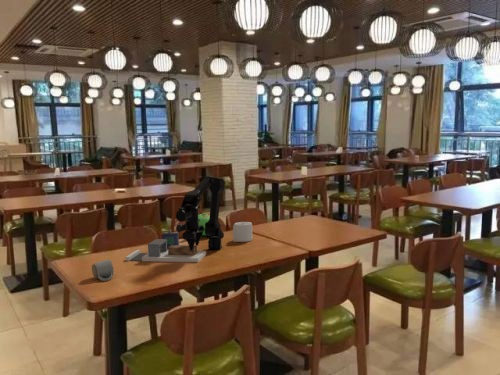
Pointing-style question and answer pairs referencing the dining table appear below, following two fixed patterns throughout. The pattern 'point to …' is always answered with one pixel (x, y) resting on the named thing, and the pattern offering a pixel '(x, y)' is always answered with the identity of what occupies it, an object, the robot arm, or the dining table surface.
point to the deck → (165, 257)
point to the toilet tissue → (242, 232)
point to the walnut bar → (181, 250)
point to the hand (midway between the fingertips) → (194, 247)
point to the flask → (171, 238)
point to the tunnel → (157, 247)
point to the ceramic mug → (103, 270)
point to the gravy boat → (203, 220)
